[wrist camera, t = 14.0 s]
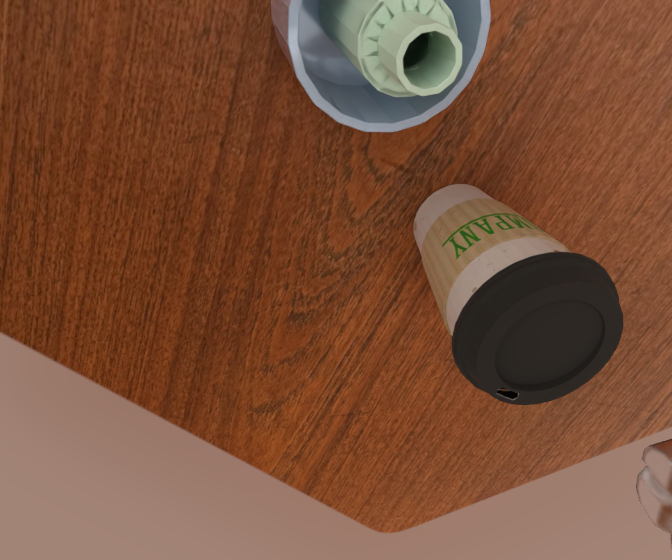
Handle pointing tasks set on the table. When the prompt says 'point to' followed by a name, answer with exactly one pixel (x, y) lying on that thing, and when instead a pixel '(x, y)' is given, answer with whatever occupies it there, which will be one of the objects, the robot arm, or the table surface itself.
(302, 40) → the tumbler
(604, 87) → the table surface
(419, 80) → the bottle
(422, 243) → the coffee cup
